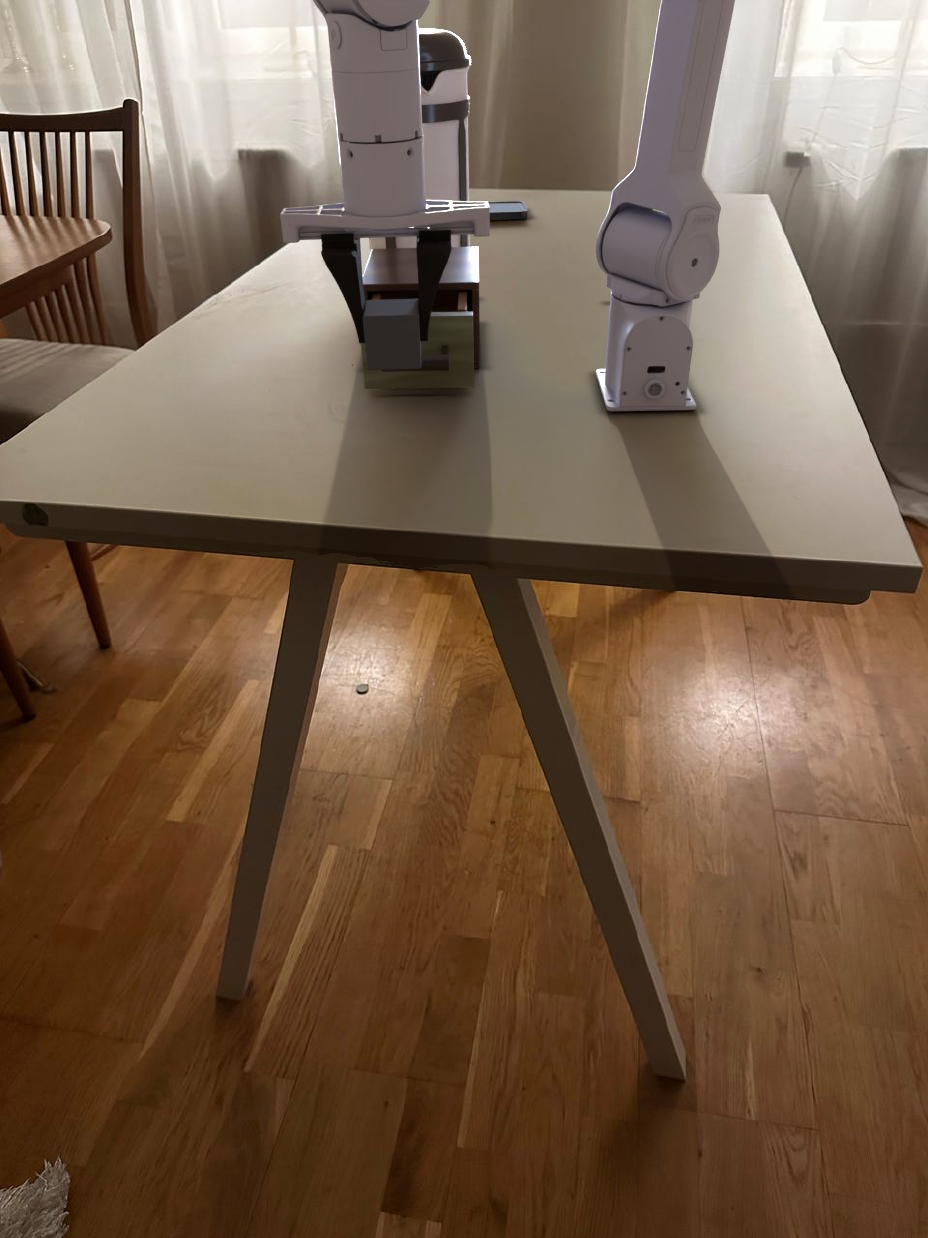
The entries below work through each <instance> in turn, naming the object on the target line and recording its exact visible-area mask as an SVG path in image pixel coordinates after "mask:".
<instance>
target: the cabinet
mask: <svg viewBox="0 0 928 1238" xmlns="http://www.w3.org/2000/svg"><path fill="white" fill-rule="evenodd" d="M479 252H480V251H479V246H470V247H452V250H451V253H450V256H449V259H448V262H447V264H446V267H445V269H444V271H443V274H442V277H441V279H440V282H439V285H438V288H437V290H467V305H468V312H473V348H474V369H480V368H481V333H480V329H481V328H480V327H481V326H480V325H481V324H480V323H481V322H480V319H481V317H480V256H479V254H480V253H479ZM362 277H363V289H364V296H365V302H366V300H372V297H373V294H374V291H419V286H418V268H417V252H416V248H380V249H372V251H371V254H370V253H369V257H368V260H367V262H366V266H365V268H364V271H363V273H362Z"/></svg>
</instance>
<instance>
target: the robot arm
mask: <svg viewBox="0 0 928 1238" xmlns="http://www.w3.org/2000/svg"><path fill="white" fill-rule="evenodd" d="M431 1H432V0H312V2H313V3H314V5H315V6H316V8H317V9H318V11H319V12H320V13H321V14H322V17H323V18H324V20H325V23H326V26H327V35H328V36H327V37H328V47H329V48H328V49H329V61H330V72H331V81H332V82H331V83H332V91H333V93H332V94H333V103H334V113H335V125H336V134H337V136H336V137H337V144H338V156H339V166H340V167H339V168H340V176H341V188H342V189H341V190H342V197H343V198H342V200H343V202H338V203H328V204H320V205H310V206H298V207H283V208H282V210H281V212H280V214H279V218H280V227H281V233H282V241H283V244H298V243H299V242H300V241H315V240H316V241H317V240H318V241H319V240H321V251H320V255H321V257H322V260H323V262H324V265H325V266H326V268H327V270H328V271H329V272H330V274H331V276H332V278H333V279H334V281H335V283H336V285H337V286H338V289H339V290H340V292H341V294H342V297H343V299H344V301H345V303H346V305H347V307H348V310H349V313H350V316H351V318H352V321H353V325H354V328H355V331H356V336H357V341H358V344H361V343H365V337H364V325H363V314H364V308H365V296H364V289H363V265H362V263H363V261H362V248H361V247H362V246H361V239H369V238H379V237H409V236H417V241H416V252H417V268H418V286H419V326H420V341H428V330H429V321H430V316H431V310H432V306H433V302H434V298H435V295H436V291H437V288H438V285H439V282H440V279H441V277H442V274H443V271H444V269H445V267H446V264H447V262H448V259H449V256H450V253H451V250H452V244H451V235H469V234H470V235H473V236H474V237H479V238H480V237H490V235H491V233H490V232H491V226H490V225H491V224H490V223H491V220H490V208H489V204H488V202H489V201H485V200H484V201H469V202H464V201H441V200H426V194H425V172H424V149H423V130H422V108H421V85H420V62H419V41H418V29H419V24H418V21H419V20H420V19H421V18H422V17H423V15H424V14H425V13H426V11H427V9H428V7H429V5H430V3H431ZM735 3H736V0H660V6H659V13H658V19H657V24H656V32H655V38H654V45H653V50H652V57H651V63H650V69H649V77H648V81H647V87H646V88H647V89H646V94H645V101H644V108H643V115H642V120H641V127H640V133H639V139H638V146H637V152H636V157H635V158H636V159H635V165H634V168H633V170H632V171H631V172H630V173H629V174H628V175H627V176H625V178H624V179H622V180H621V181H620V182H619V183H618V184H616V186H615V187H614V188H613V189H612V191H611V195H610V203H609V207H608V210H607V213H606V215H605V217H604V219H603V221H602V223H601V225H600V227H599V230H598V233H597V236H596V240H595V241H596V242H595V256H596V260H597V261H596V262H597V264H598V266H599V268H600V270H601V271H602V272H603V273H604V274H605V275H607V277H606V287H607V288H608V289H610V301H609V302H610V303H609V304H610V305H609V314H608V315H609V317H608V328H607V340H606V341H607V342H606V346H607V347H606V354H605V355H606V356H605V368H598V369H596V371H595V375H596V378H597V383H598V386H599V389H600V392H601V396H602V398H603V399H602V400H603V402H604V405H605V408H606V410H607V411H608V412H649V411H651V412H652V411H657V412H658V411H659V412H660V411H661V412H662V411H694V410H696V409H697V403H696V401H695V399H694V397H693V395H692V393H691V391H690V389H689V381H690V380H689V379H690V373H691V364H692V358H693V349H694V337H693V334H692V331H691V327H690V325H691V318H692V312H693V311H692V310H693V302H694V300H698V299H699V298H701V297H700V296H701V292H702V291H704V289H705V288H707V286H708V284H709V283H710V282H711V280H712V278H713V276H714V274H715V272H716V269H717V266H718V263H719V259H720V239H719V221H720V216H721V211H722V207H721V205H720V202H719V200H718V199H717V197H716V196H715V194H714V193H713V192H712V190H711V187H710V186H709V185H708V184H707V182H706V181H705V179H704V177H703V175H702V173H703V169H704V168H703V167H704V164H705V163H704V162H705V158H706V153H707V147H708V143H709V142H708V141H709V136H710V133H711V132H710V131H711V126H712V121H713V117H714V111H715V105H716V100H717V96H718V91H719V84H720V82H721V81H720V80H721V75H722V70H723V65H724V59H725V55H726V49H727V44H728V38H729V34H730V29H731V25H732V18H733V13H734V9H735Z"/></svg>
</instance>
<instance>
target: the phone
mask: <svg viewBox="0 0 928 1238" xmlns="http://www.w3.org/2000/svg"><path fill="white" fill-rule="evenodd" d="M487 202H488V204H489V208H490V221H499V220H500V221H501V220H504V221H505V220H525V219H527V218H528V215H529V214H528V213H529V212H528V207H527V206H526V203H525V201H523V200H506V201H487Z"/></svg>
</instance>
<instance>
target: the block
mask: <svg viewBox="0 0 928 1238" xmlns="http://www.w3.org/2000/svg"><path fill="white" fill-rule="evenodd" d="M363 325H364V337H365V349H366V360H367V370H395V369H420V368H421V341H420V326H419V299H389V300H366V302H365V308H364V314H363Z"/></svg>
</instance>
